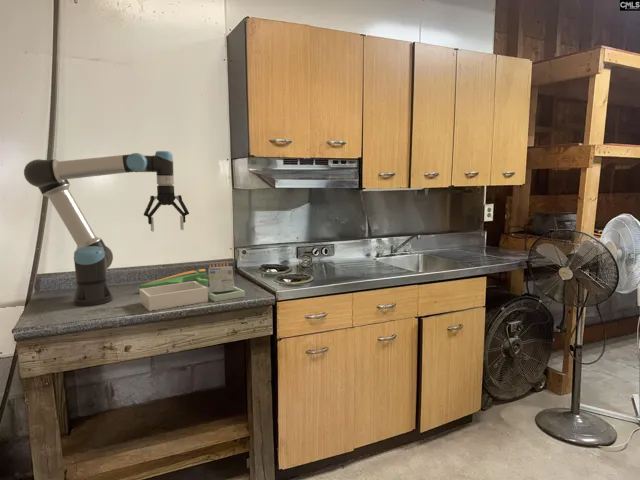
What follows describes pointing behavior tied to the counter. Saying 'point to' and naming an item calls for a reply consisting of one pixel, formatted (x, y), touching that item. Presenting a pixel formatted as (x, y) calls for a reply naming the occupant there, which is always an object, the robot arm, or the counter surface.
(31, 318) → the counter surface
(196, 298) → the deep bin
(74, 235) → the robot arm
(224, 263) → the ammunition clip
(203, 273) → the toy spaceship
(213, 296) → the tray
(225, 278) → the light bulb box
